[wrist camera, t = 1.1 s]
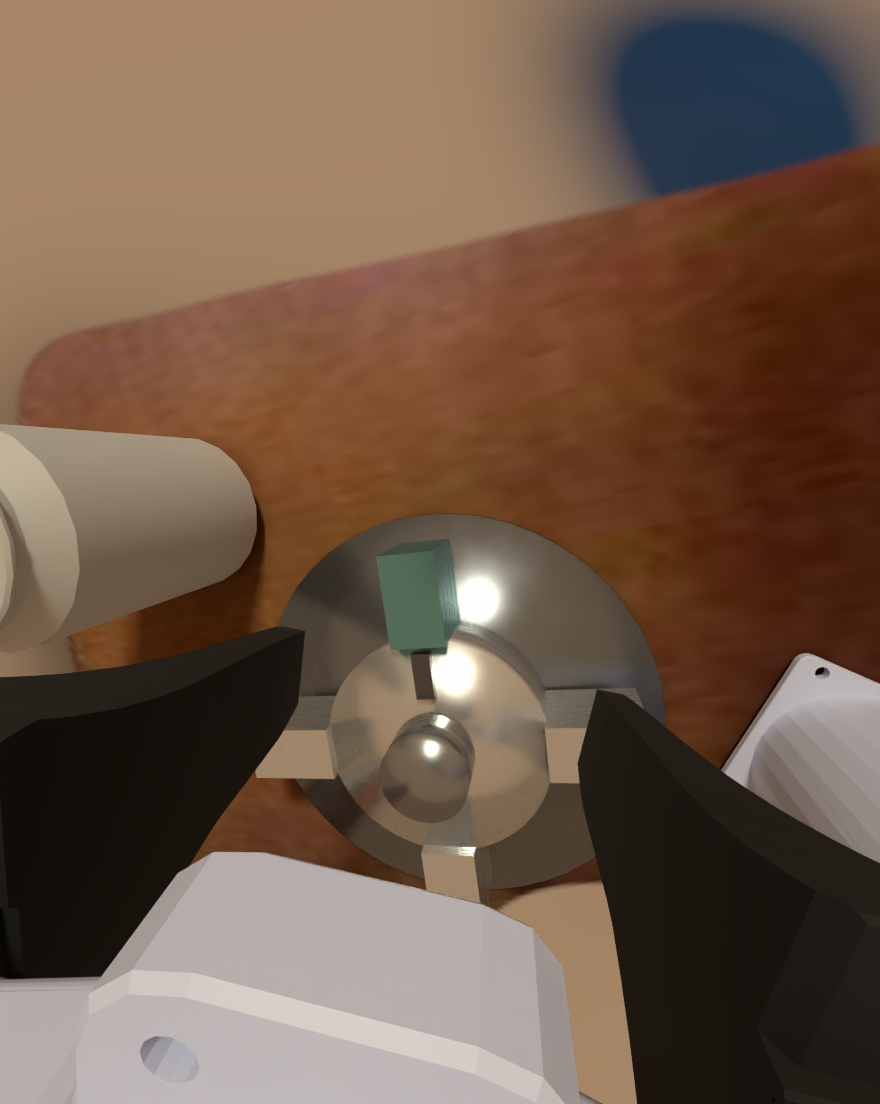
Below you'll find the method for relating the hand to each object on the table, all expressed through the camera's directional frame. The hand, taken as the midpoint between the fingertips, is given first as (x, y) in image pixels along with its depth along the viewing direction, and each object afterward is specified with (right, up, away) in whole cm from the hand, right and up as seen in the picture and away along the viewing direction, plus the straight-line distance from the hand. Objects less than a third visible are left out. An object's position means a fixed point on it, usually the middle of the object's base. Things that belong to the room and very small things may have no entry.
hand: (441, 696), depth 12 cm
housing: (+1, -5, +13) cm, 13 cm away
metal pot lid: (+1, -5, +13) cm, 13 cm away
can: (-12, +6, +14) cm, 19 cm away
